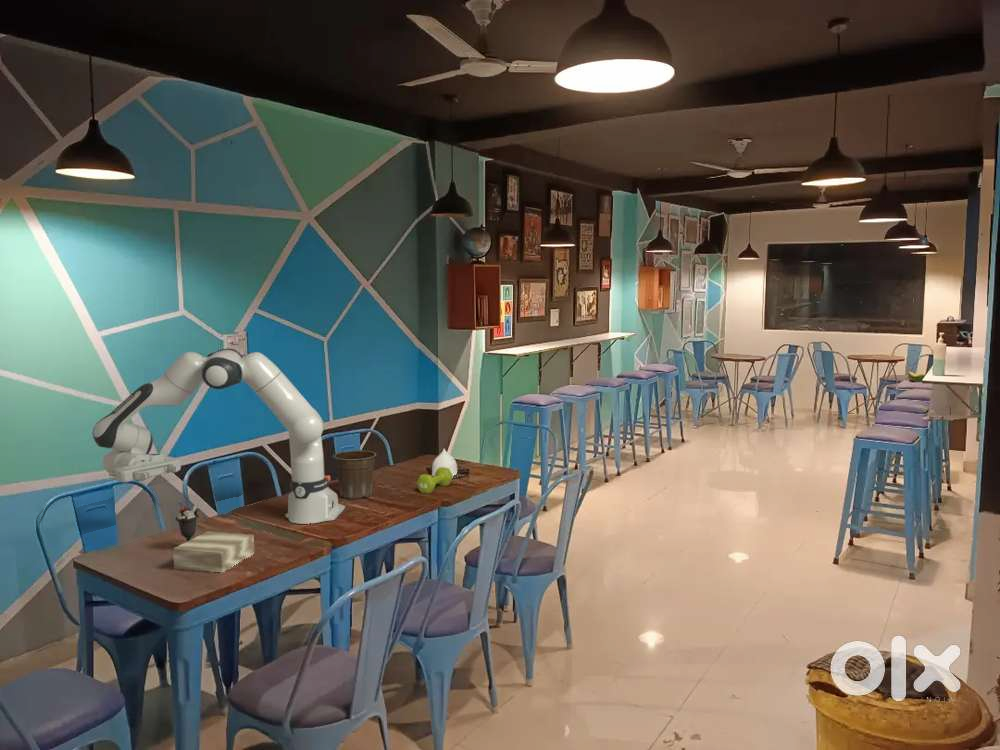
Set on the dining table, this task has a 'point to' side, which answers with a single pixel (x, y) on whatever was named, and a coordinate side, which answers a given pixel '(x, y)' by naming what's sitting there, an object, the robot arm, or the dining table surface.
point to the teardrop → (444, 463)
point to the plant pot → (355, 473)
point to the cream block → (213, 551)
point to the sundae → (187, 522)
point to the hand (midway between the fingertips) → (161, 472)
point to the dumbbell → (434, 480)
